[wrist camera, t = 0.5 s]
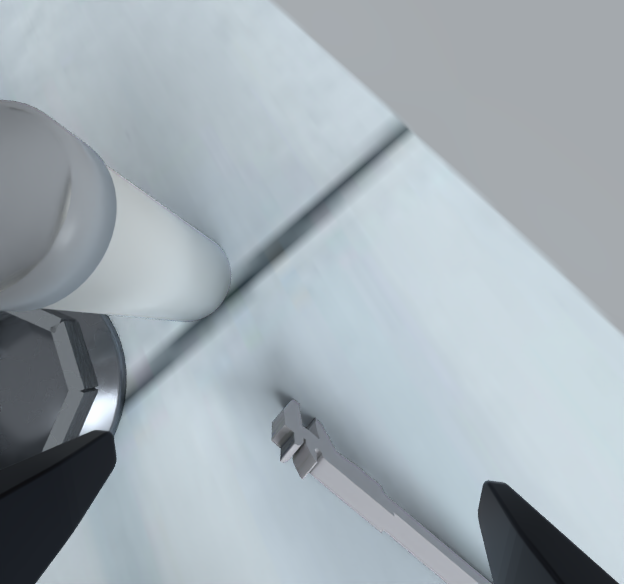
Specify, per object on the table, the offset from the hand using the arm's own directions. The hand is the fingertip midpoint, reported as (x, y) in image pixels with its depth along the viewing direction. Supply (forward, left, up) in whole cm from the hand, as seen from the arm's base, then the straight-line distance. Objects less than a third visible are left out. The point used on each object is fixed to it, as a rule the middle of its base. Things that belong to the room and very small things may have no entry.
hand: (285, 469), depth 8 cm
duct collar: (-8, +19, -13) cm, 24 cm away
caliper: (-5, -8, -13) cm, 16 cm away
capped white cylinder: (+3, +11, -13) cm, 17 cm away
